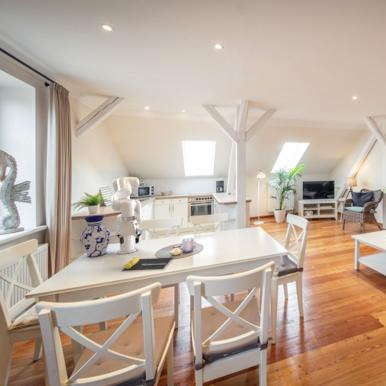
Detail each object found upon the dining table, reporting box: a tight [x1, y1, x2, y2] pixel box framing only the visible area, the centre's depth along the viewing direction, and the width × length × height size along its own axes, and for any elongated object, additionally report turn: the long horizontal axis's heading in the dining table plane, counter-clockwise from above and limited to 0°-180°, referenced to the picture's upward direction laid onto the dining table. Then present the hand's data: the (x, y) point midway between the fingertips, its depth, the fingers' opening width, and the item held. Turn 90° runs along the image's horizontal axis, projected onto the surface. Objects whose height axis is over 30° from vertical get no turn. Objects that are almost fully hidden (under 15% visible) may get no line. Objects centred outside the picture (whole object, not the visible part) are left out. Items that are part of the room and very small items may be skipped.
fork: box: [141, 263, 166, 266], centre depth 156 cm, size 16×2×1 cm, turn 97°
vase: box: [79, 215, 112, 258], centre depth 174 cm, size 19×19×30 cm
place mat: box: [121, 257, 173, 272], centre depth 157 cm, size 20×26×1 cm
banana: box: [124, 256, 140, 269], centre depth 155 cm, size 15×4×4 cm, turn 7°
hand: (129, 243), depth 153 cm, fingers open, 9 cm apart
